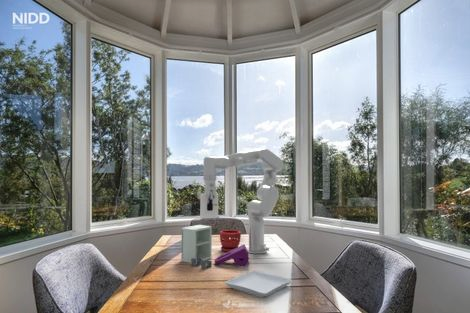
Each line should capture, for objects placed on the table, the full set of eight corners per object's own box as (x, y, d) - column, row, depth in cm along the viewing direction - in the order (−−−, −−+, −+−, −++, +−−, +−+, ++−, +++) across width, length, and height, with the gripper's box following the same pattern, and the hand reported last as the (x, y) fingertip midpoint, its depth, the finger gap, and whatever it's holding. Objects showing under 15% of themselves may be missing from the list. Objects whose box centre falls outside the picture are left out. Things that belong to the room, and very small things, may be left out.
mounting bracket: (220, 277, 164) (251, 262, 164) (213, 263, 164) (244, 248, 164) (221, 272, 173) (251, 258, 173) (215, 258, 174) (244, 244, 174)
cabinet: (211, 258, 180) (211, 226, 181) (194, 263, 168) (195, 230, 169) (198, 255, 186) (198, 224, 187) (181, 260, 174) (181, 228, 175)
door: (217, 217, 183) (217, 193, 183) (218, 218, 179) (218, 193, 180) (200, 217, 180) (200, 193, 181) (201, 218, 176) (201, 193, 177)
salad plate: (253, 276, 148) (253, 269, 149) (293, 287, 135) (292, 279, 135) (223, 289, 132) (223, 281, 132) (265, 302, 119) (265, 293, 119)
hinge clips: (211, 266, 163) (211, 258, 163) (204, 269, 159) (204, 261, 159) (198, 263, 169) (198, 256, 169) (191, 266, 164) (191, 258, 164)
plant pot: (240, 253, 191) (240, 233, 192) (219, 252, 192) (219, 233, 192) (240, 247, 204) (240, 229, 205) (220, 247, 205) (220, 229, 205)
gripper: (219, 178, 175) (219, 211, 174) (213, 178, 190) (212, 208, 189) (206, 178, 173) (205, 212, 171) (200, 177, 188) (200, 208, 187)
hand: (209, 209), depth 180 cm, fingers closed on door, 2 cm apart
